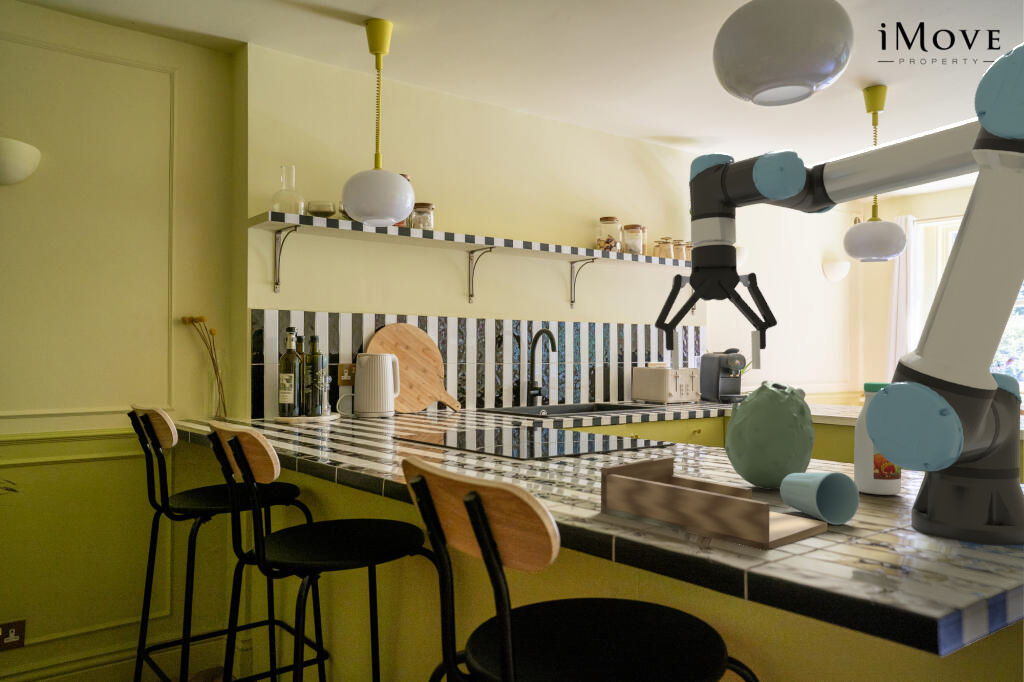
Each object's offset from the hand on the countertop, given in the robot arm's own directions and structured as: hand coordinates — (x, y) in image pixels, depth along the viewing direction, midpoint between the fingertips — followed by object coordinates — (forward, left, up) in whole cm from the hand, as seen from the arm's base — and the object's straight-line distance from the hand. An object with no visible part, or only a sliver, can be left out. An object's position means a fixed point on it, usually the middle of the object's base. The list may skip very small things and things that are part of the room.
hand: (715, 369), depth 126 cm
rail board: (-9, +15, -23) cm, 28 cm away
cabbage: (0, -18, -23) cm, 29 cm away
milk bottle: (-15, -30, -23) cm, 40 cm away
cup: (-14, -3, -23) cm, 28 cm away
